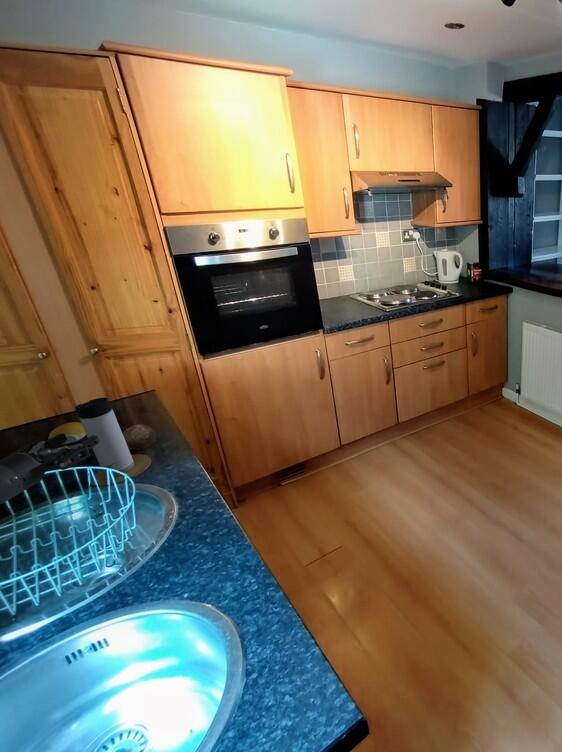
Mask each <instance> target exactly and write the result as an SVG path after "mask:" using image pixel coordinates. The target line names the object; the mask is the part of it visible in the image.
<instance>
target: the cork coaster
mask: <svg viewBox="0 0 562 752" xmlns="http://www.w3.org/2000/svg"><path fill="white" fill-rule="evenodd" d="M131 456H132V459H133V461H134V466H133V467H132V468H131V469H130V470H128V471H126V472H125V473H126V474H127V475H129V476H131V477H133V478H134V477H136V476H138V475H140V474H142V473H143V472H145V471H146V470H147V469H149V467H150V465H151V464H152V458H151V457H150V456H149V455H147V454H139V453H138V454H137V453H136V454H131ZM95 477H96V479H97V481H98V483H99V486H98V487H103V486H104V487H105V486H108V485H107V478H106V475H105V474H104V473H103V472H102V471H98V472H97V473H96V476H95ZM115 478H116V482H117V483H116V484H120V483H122V482H125V481H124V478H123V477H122V476H120V475H116V476H115ZM86 482H87V483H88V475H87V476H86ZM91 486H94V487H97V486H96V485H95V483H92V485H91Z"/></svg>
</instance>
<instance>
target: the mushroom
mask: <svg viewBox="0 0 562 752" xmlns="http://www.w3.org/2000/svg"><path fill="white" fill-rule="evenodd" d="M122 434H123V436H124V439H125V441H126V444H127V446H128V449H129V450H132V451H141V450H145V449H147V448H150V447H151V446H152V445H154V443H155V442H156V441H157V436H158V435H157V432H156V431H155V430H154V429H153V428H152V427H151V426H149V425H147V424H135V425H132V426H129V427H127V428H126V429H125V430H124V431H123V432H122Z"/></svg>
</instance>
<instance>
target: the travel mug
mask: <svg viewBox="0 0 562 752" xmlns="http://www.w3.org/2000/svg"><path fill="white" fill-rule="evenodd" d="M74 409H75V411H76V414H77V415H78V419H79V421H80V423H81V424H82V426H83V428H84V430H85V433H86V434H85V436H86V437H87V438H89V437H91V436H93V435H94V436H97V437H98V439H99V441H100V442H99V444H97V445H95V446H94V447H92V448H91V449H92V451H93V453H94V455H95V457H96V460H97V462H98V465H99V466H101V467H108V468H113V469H116V470H120V471H122V472H126V471H128V470H130V469H131V468H132V467H133V466H134V461H133V459H132V456H131V455H132V453H131V451H130V449H129V448H128V446H127V444H126V441H125V439H124V436H123V434H122V433H123V432H122V429H121V427H120V425H119V422H118V419H117V417H116V415H115V412H114V409H113V407H112V406H111V403H110V400H109V398H108V397H97V398H93V399H90V400H89V401H86V402H83V403H79V404H77V405H75V407H74ZM103 473H104V474H105V475H106V472H104V471H103ZM117 475H118V474H117Z"/></svg>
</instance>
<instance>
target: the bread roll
mask: <svg viewBox="0 0 562 752" xmlns="http://www.w3.org/2000/svg"><path fill="white" fill-rule="evenodd" d="M60 433H62V434H65V436H66V438H67V441H66V442H64V443H62V444H61V445H60V446H63V445H64V446H65V445H69V444H73V443H75V442H78V441H79V440H82V439H83V438H84V437H85V436H86V433H85V430H84V428H83V426H82V424H81V422H77V421H76V422H75V421H74V422H66V423H63V424H60V425H58V426H57V427H55V428H54V429H53V430H52V431H50V433H49V436H48V438H47V440H48V439H50V438H52V437H54V436H56V435H58V434H60Z"/></svg>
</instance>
